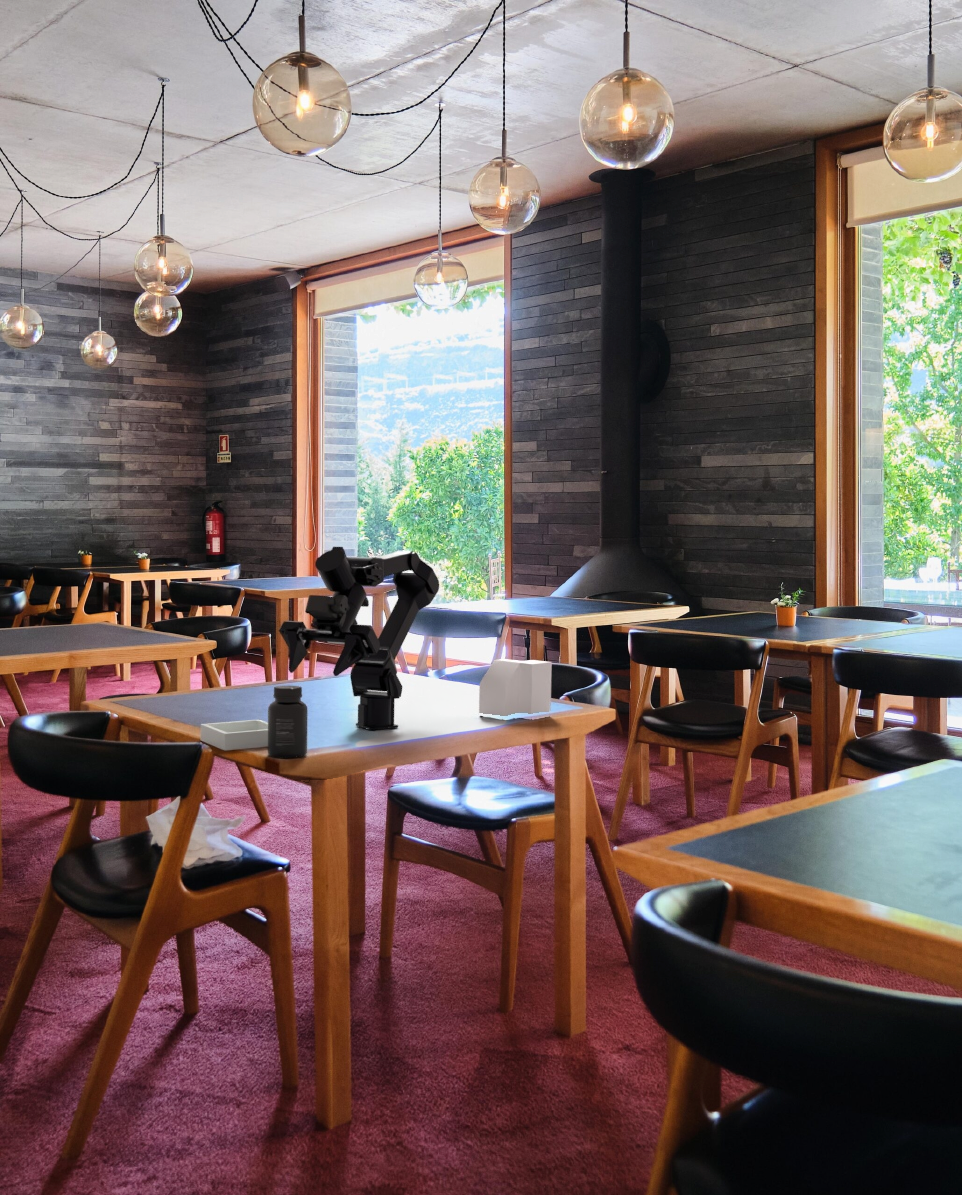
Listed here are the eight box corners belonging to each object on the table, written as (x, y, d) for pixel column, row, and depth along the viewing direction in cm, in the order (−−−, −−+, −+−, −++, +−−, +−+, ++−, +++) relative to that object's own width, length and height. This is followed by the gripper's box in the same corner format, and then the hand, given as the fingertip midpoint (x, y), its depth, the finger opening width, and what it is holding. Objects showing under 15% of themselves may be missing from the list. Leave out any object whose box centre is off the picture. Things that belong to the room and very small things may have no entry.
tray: (258, 735, 217) (259, 719, 217) (284, 744, 207) (285, 728, 207) (200, 740, 210) (200, 724, 210) (224, 750, 201) (224, 733, 201)
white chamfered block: (550, 717, 246) (551, 662, 246) (517, 722, 238) (518, 665, 237) (512, 711, 253) (513, 657, 253) (479, 716, 245) (480, 661, 244)
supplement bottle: (315, 754, 199) (316, 686, 198) (288, 760, 193) (289, 690, 192) (285, 750, 202) (286, 683, 202) (259, 755, 197) (259, 687, 196)
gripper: (284, 577, 212) (250, 641, 202) (373, 581, 205) (342, 646, 195) (306, 617, 220) (274, 680, 210) (392, 621, 213) (363, 687, 203)
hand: (312, 672), depth 204 cm, fingers open, 9 cm apart
